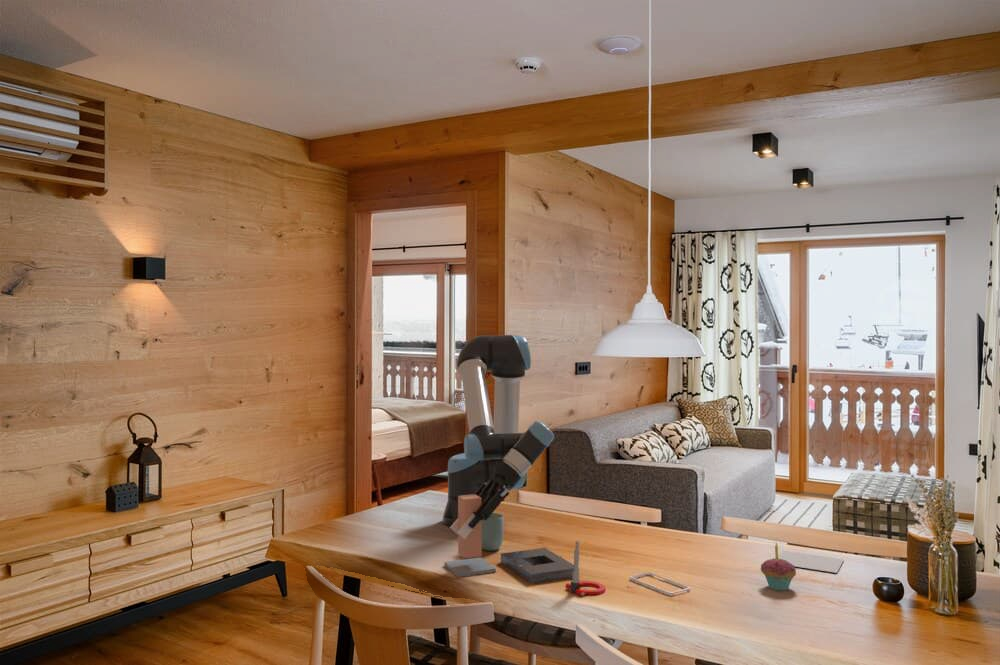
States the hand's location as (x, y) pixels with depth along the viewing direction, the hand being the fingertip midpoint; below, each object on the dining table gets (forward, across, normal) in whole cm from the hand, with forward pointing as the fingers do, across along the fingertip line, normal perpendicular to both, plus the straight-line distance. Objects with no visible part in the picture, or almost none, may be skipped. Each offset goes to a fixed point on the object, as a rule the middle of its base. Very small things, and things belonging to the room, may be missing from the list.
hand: (457, 533), depth 207 cm
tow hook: (-10, -27, -25) cm, 39 cm away
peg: (+2, 0, -7) cm, 7 cm away
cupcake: (-42, -45, -58) cm, 85 cm away
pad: (+5, 0, -10) cm, 11 cm away
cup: (-4, +16, -19) cm, 25 cm away
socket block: (-8, -8, -22) cm, 25 cm away
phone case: (-23, -32, -39) cm, 55 cm away
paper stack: (-63, -34, -78) cm, 106 cm away
